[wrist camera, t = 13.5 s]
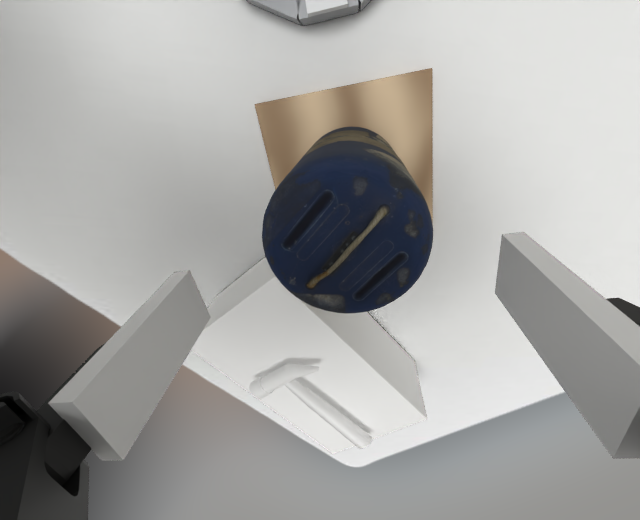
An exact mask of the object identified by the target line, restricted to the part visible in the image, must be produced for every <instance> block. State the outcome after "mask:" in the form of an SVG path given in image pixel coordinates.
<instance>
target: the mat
mask: <svg viewBox="0 0 640 520" xmlns="http://www.w3.org/2000/svg"><path fill="white" fill-rule="evenodd" d="M255 108H256V112H257V116H258V120H259V124H260V129H261V133H262V137H263V141H264V145H265V149H266V153H267V157H268V161H269V165H270V169H271V173H272V177H273V181H274V186H275V190H276V189H277V187H278V186H279V184H280V183H281V182H282V181H283V179H284V178H285V177H286V176H287V175H288V174H289V172H290V171H291V170H292V169H293V168H294V166H295V165H296V164H297V163H298V162H299V161H300V159H301V158H302V157H303V156H304V155H305V154H306V152H307V151H308V150H309V149H310V148H311V147H312V146H313V145H314V143H315V142H316V141H317V140H319V139H320V138H321V137H322V136H323V135H325V134H327V133H328V132H331V131H333V130H335V129H338V128H342V127H361V128H366V129H369V130H371V131H373V132H375V133H377V134H379V135H380V136H381V137H383V138H384V139H385V140H386V141H387V142H388V143H389V145H390V146H391V147H392V149H393V150H394V152H395V153H396V155H397V156H398V157H399V158H400V159H401V161H402V162H403V164H404V165H405V167H406V168H407V170H408V172H409V173H410V175H411V176H412V178H413V179H414V181H415V183H416V184H417V186H418V188H419V189H420V191H421V193H422V194H423V196H424V198H425V200H426V202H427V205H428V208H429V211H430V215H431V219H432V68H430V69H425V70H420V71H415V72H411V73H406V74H401V75H396V76H391V77H386V78H381V79H376V80H371V81H367V82H362V83H357V84H352V85H347V86H342V87H337V88H332V89H327V90H322V91H318V92H313V93H308V94H303V95H298V96H293V97H288V98H283V99H278V100H273V101H269V102H264V103H259V104H255Z"/></svg>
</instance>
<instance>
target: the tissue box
mask: <svg viewBox="0 0 640 520" xmlns="http://www.w3.org/2000/svg"><path fill="white" fill-rule="evenodd" d="M207 310H208V312H209V315H210V317H211V318H210V319H209V321H208V323H207V324H206V326H205V328H204V329H203V331H202V333H201V334H200V336H199V337H198V339H197V341H196V342H195V344H194V346H193V347H192V349H191V351H192V352H194V353H195V354H196V355H198V356H199V357H200V358H202V359H203V360H205V361H206V362H207V363H209V364H210V365H211V366H213V367H214V368H215V369H217V370H218V371H220V372H221V373H222V374H224V375H225V376H226V377H228V378H229V379H230V380H232V381H233V382H235V383H236V384H237V385H239V386H240V387H241V388H243V389H244V390H245V391H247V392H248V393H250V394H251V395H252V396H254V397H255V398H256V399H258V400H259V401H261V402H262V403H263V404H265V405H266V406H267V407H269V408H270V409H271V410H273V411H274V412H276V413H277V414H278V415H280V416H281V417H282V418H284V419H285V420H286V421H288V422H289V423H291V424H292V425H293V426H295V427H296V428H297V429H299V430H300V431H301V432H303V433H304V434H306V435H307V436H308V437H310V438H311V439H312V440H314V441H315V442H317V443H318V444H319V445H321V446H322V447H323V448H325V449H326V450H327V451H329V452H330V453H332V454H335V453H338V452H340V451H343V450H346V449H348V448H351V447H354V446H356V447H358V448H359V449H363V448H366V447H368V446H369V445H370V444H371V442H372V440H373V439H376V438H378V437H381V436H384V435H386V434H389V433H392V432H394V431H397V430H400V429H403V428H405V427H408V426H411V425H413V424H416V423H419V422H421V421H424V420H427V415H426V410H425V406H424V401H423V397H422V392H421V388H420V383H419V379H418V374H417V369H416V365H415V361H414V360H413V359H412V358H411V357H410V356H409V355H408V353H407V352H406V351H405V350H404V349H403V348H402V347H401V346H400V345H399V344H398V343H397V342H396V341H395V340H394V339H393V338H392V337H391V336H390V335H389V334H388V333H387V332H386V331H385V330H384V329H383V328H382V327H381V326H380V325H379V324H378V323H377V322H376V321H375V320H374V319H373V318H372V317H371V316H370V315H369V314H368V313H367V312H361V313H349V314H346V313H335V312H330V311H325V310H322V309H319V308H315V307H313V306H310V305H309V304H307V303H305V302H303V301H301V300H300V299H298V298H297V297H295V296H294V295H293V294H292V293H290V292H289V291H288V290H287V289H286V288H285V287H284V286H283V285H282V284H281V283H280V281H279V280H278V279H277V277H276V276H275V274H274V273H273V271H272V270H271V268H270V266H269V264H268V261H267V259H266V257H264V258H263V259H262V260H261V261H259V262H258V263H257V264H256V265H254V266H253V267H252V268H251V269H249V270H248V271H247V272H246V273H244V274H243V275H242V276H241V277H239V278H238V279H237V280H236V281H234V282H233V283H232V284H231V285H229V286H228V287H227V288H226V289H225V290H223V291H222V292H221V293H220V294H218V295H217V296H216V297H215V298H214V300H213V301H212V303H211V304H210V306H209V307H208V309H207Z"/></svg>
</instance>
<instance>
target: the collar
mask: <svg viewBox="0 0 640 520" xmlns="http://www.w3.org/2000/svg"><path fill="white" fill-rule="evenodd" d="M247 1H248V2H249V3H251V4H253V5H255V6H257V7H260V8H262V9H264V10H267V11H269V12H271V13H274V14H276V15H278V16H280V17H283V18H285V19H287V20H290V21H292V22H294V23H297V24H299V25H302V24H303V25H304V26H305V25H309V24H313V23H318V22H322V21H326V20H330V19H334V18H338V17H342V16H346V15H350V14H354V13H358V8H359V9H360V11H361V10H362V9H363V8H364V7H365V6H366V5H367V4H368V3H369V2H370V1H371V0H247Z"/></svg>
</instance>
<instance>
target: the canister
mask: <svg viewBox="0 0 640 520" xmlns="http://www.w3.org/2000/svg"><path fill="white" fill-rule="evenodd" d="M262 240H263V247H264V251H265V255H266V259H267V261H268V264H269V266H270V268H271V270H272V271H273V273H274V274H275V276H276V277H277V279H278V280H279V281H280V283H281V284H282V285H283V286H284V287H285V288H286V289H287V290H288V291H289V292H290V293H292V294H293V295H294V296H295V297H297V298H298V299H300V300H301V301H303V302H305V303H307V304H309V305H310V306H313V307H315V308H319V309H322V310H325V311H330V312H335V313H346V314H349V313H361V312H367V311H371V310H374V309H377V308H380V307H383V306H385V305H387V304H389V303H391V302H392V301H394V300H396V299H397V298H399V297H400V296H402V295H403V294H404V293H405V292H406V291H408V290H409V289H410V288H411V287H412V286H413V284H414V283H415V282H416V281H417V280H418V278H419V277H420V275H421V274H422V272H423V270H424V268H425V266H426V264H427V262H428V259H429V256H430V252H431V248H432V241H433V225H432V219H431V215H430V211H429V208H428V205H427V202H426V200H425V198H424V196H423V194H422V193H421V191H420V189H419V188H418V186H417V184H416V183H415V181H414V179H413V178H412V176H411V175H410V173H409V172H408V170H407V168H406V167H405V165H404V164H403V162H402V161H401V159H400V158H399V157H398V156H397V155H396V153H395V152H394V150H393V149H392V147H391V146H390V145H389V143H388V142H387V141H386V140H385V139H384V138H383V137H381V136H380V135H379V134H377V133H375V132H373V131H371V130H369V129H366V128H361V127H342V128H338V129H335V130H333V131H331V132H328V133H327V134H325V135H323V136H322V137H321V138H320V139H319V140H317V141H316V142H315V143H314V145H313V146H312V147H311V148H310V149H309V150H308V151H307V152H306V154H305V155H304V156H303V157H302V158H301V159H300V161H299V162H298V163H297V164H296V165H295V166H294V168H293V169H292V170H291V171H290V172H289V174H288V175H287V176H286V177H285V178H284V179H283V181H282V182H281V183H280V184H279V186H278V187H277V189H276V190H275V192H274V194H273V195H272V197H271V199H270V202H269V204H268V206H267V209H266V212H265V215H264V220H263V231H262Z"/></svg>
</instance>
